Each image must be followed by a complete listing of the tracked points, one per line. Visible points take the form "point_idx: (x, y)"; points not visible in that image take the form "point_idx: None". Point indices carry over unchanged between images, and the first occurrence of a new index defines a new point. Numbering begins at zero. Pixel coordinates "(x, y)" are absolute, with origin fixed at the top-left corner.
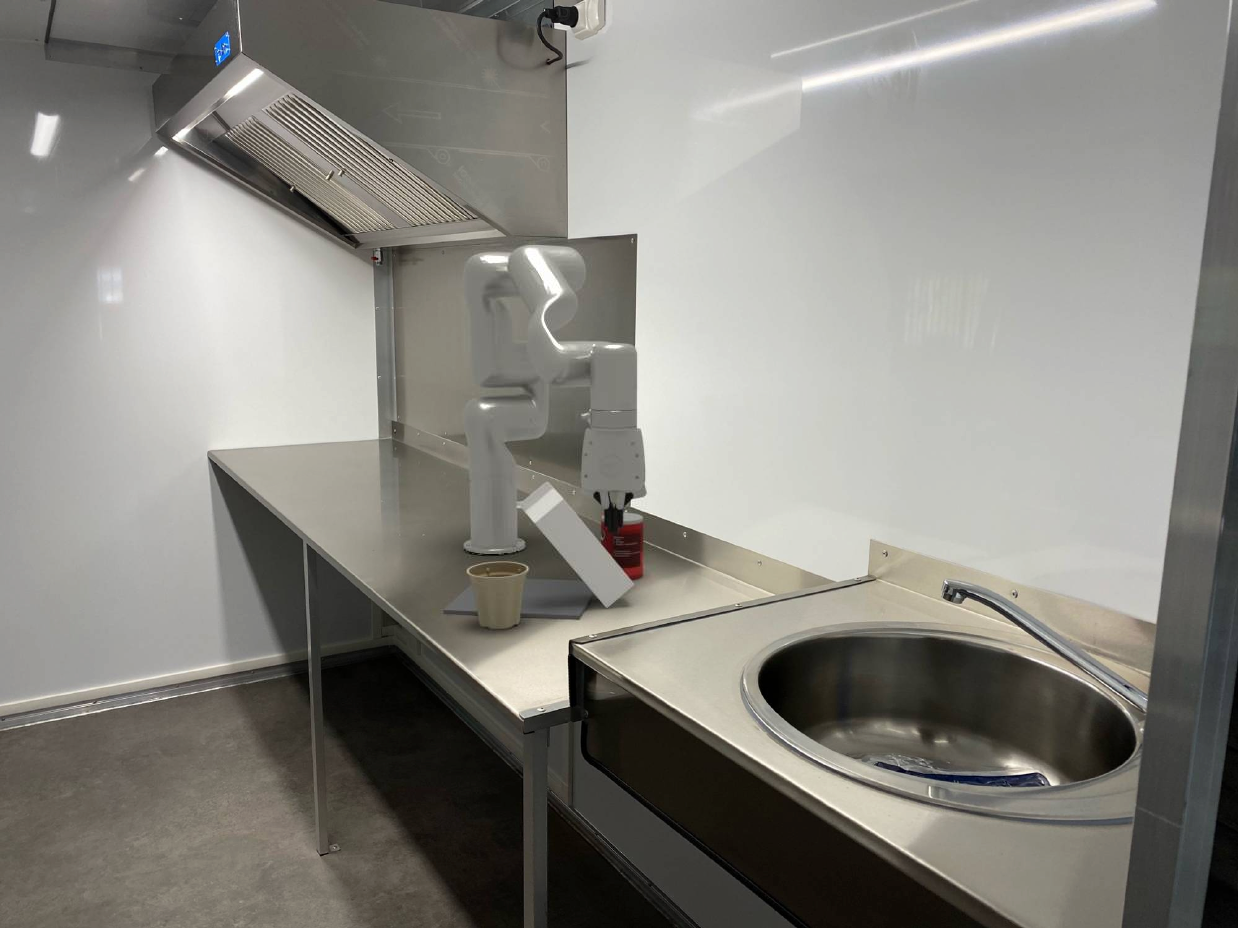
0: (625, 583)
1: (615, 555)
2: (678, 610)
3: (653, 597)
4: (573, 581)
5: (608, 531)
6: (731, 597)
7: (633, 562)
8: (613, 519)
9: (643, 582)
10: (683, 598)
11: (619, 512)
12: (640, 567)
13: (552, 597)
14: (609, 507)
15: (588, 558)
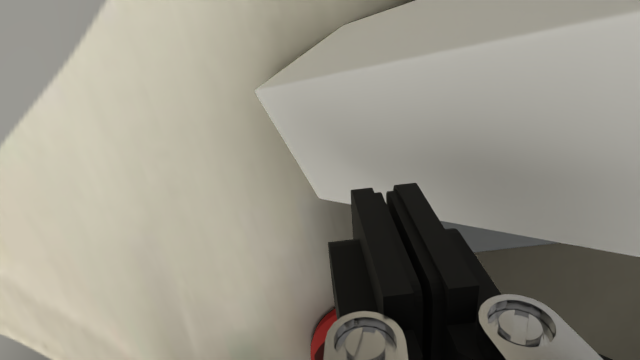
0: (285, 74)
1: None
2: (104, 64)
3: (228, 178)
4: (486, 241)
5: (411, 184)
6: (3, 231)
7: None
8: (397, 239)
9: (295, 298)
10: (137, 190)
11: (362, 308)
12: (314, 350)
13: None
14: (469, 331)
15: (473, 5)
